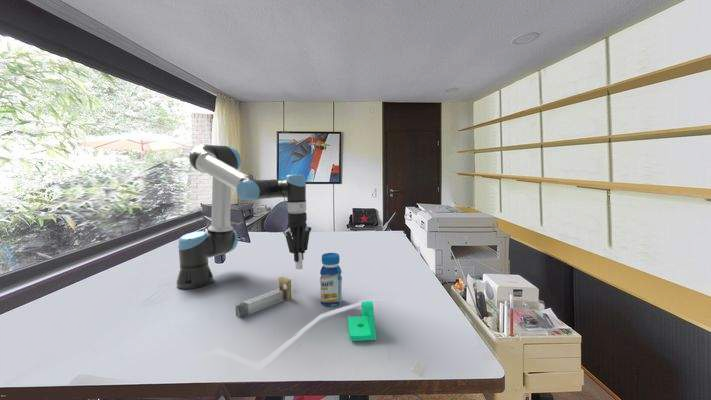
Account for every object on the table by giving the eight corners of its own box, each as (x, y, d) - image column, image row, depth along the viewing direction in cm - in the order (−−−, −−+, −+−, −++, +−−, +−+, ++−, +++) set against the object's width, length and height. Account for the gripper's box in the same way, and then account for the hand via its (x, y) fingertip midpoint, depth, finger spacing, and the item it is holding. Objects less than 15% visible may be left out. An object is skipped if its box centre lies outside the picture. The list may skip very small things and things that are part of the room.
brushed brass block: (279, 297, 119) (278, 277, 118) (283, 295, 120) (282, 276, 120) (287, 300, 115) (286, 281, 114) (291, 299, 117) (291, 279, 116)
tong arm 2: (280, 299, 116) (280, 290, 116) (283, 300, 115) (282, 290, 115) (238, 316, 102) (237, 305, 102) (240, 318, 101) (239, 306, 101)
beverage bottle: (346, 304, 114) (346, 254, 112) (330, 312, 108) (329, 259, 106) (332, 298, 120) (331, 250, 118) (315, 305, 114) (314, 255, 112)
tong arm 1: (278, 298, 117) (277, 288, 117) (280, 299, 116) (280, 289, 116) (235, 315, 103) (235, 304, 103) (238, 316, 102) (237, 305, 102)
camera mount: (347, 324, 100) (347, 295, 99) (369, 323, 101) (369, 293, 100) (350, 344, 88) (350, 311, 87) (375, 343, 89) (375, 310, 88)
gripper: (289, 214, 113) (292, 274, 115) (315, 211, 122) (317, 266, 124) (278, 213, 117) (280, 270, 119) (303, 210, 127) (305, 263, 129)
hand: (299, 268), depth 122 cm, fingers closed
